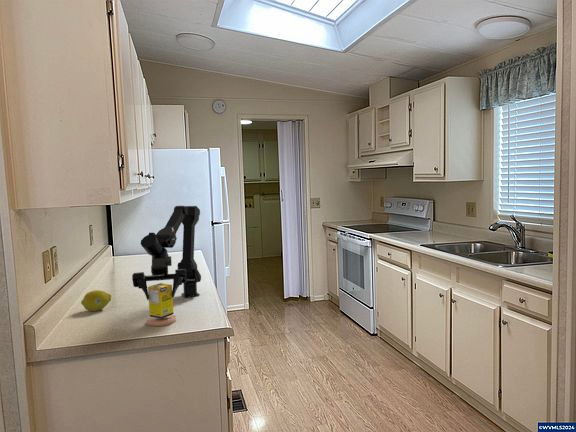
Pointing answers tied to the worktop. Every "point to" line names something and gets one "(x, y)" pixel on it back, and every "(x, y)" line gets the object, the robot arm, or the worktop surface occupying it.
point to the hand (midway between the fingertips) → (160, 298)
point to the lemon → (96, 300)
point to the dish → (161, 321)
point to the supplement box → (160, 300)
